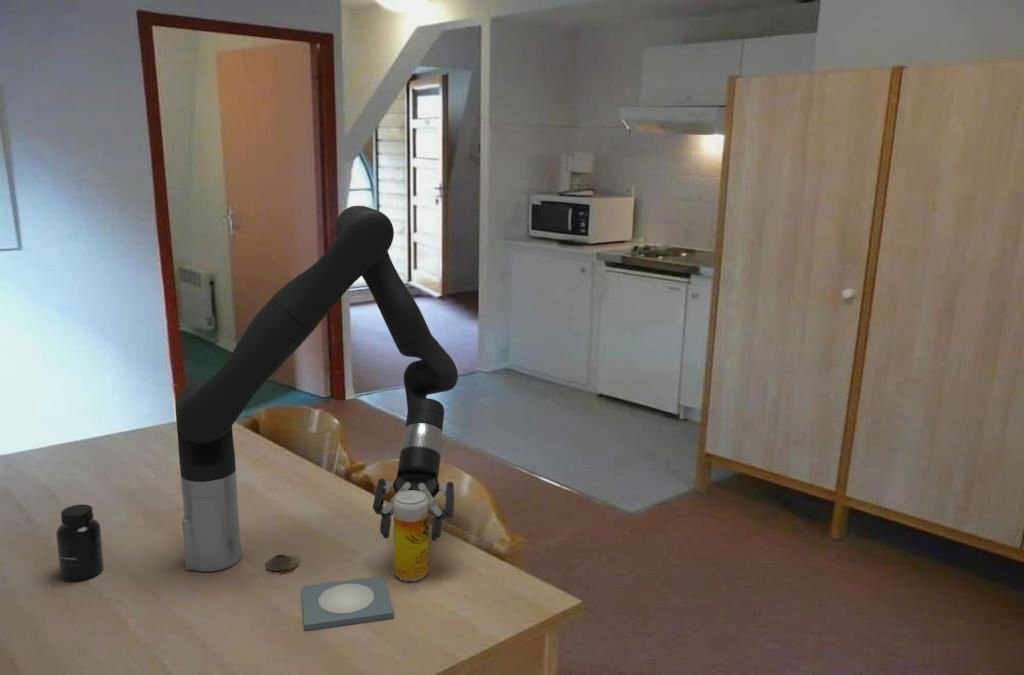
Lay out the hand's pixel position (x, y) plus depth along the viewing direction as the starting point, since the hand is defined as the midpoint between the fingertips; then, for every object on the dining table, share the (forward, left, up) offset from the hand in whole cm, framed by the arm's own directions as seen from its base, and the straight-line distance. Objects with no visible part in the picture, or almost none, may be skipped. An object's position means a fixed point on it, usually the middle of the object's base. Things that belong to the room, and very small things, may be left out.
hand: (409, 538), depth 139 cm
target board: (-12, -6, -8) cm, 15 cm away
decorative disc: (-22, +10, -8) cm, 25 cm away
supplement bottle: (-56, +16, -8) cm, 58 cm away
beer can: (0, +1, -8) cm, 8 cm away
